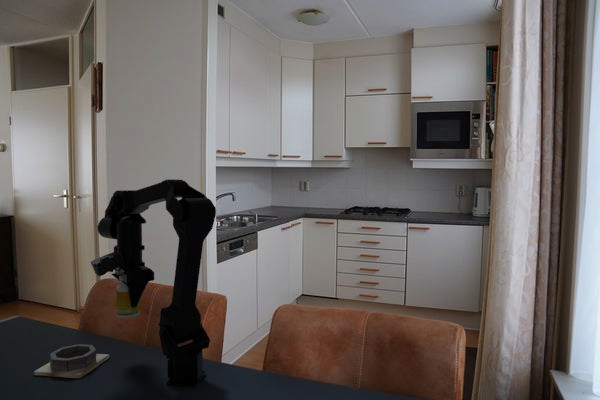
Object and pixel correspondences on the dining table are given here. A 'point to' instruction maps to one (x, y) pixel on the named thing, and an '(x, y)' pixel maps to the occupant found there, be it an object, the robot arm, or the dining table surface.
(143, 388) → the dining table surface
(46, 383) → the dining table surface
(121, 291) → the supplement bottle
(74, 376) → the collar
